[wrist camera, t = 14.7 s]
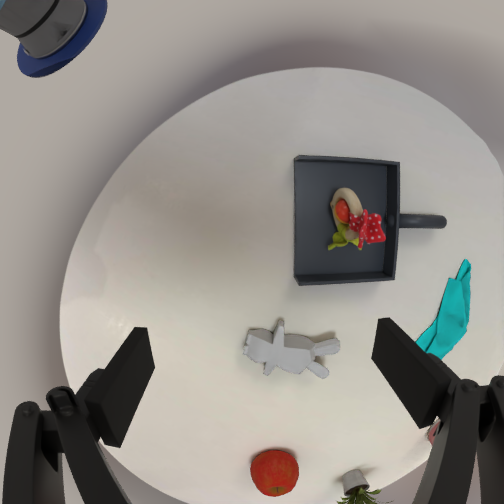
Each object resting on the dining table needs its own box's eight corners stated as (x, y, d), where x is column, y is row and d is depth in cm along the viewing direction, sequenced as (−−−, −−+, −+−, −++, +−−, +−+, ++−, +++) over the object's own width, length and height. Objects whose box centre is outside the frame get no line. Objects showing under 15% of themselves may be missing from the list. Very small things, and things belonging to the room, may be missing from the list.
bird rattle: (311, 209, 44) (331, 264, 42) (321, 179, 33) (348, 251, 31) (347, 198, 44) (368, 252, 42) (366, 167, 33) (395, 235, 31)
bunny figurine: (251, 322, 41) (347, 344, 41) (254, 309, 46) (340, 329, 46) (237, 372, 43) (325, 391, 43) (241, 357, 48) (322, 374, 48)
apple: (288, 471, 55) (293, 503, 45) (245, 468, 55) (245, 502, 44) (302, 447, 53) (310, 482, 43) (255, 444, 52) (257, 481, 42)
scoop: (294, 277, 44) (298, 285, 40) (293, 158, 41) (299, 155, 37) (433, 269, 45) (445, 275, 41) (438, 170, 41) (452, 169, 37)
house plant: (372, 451, 55) (392, 496, 39) (383, 468, 58) (401, 508, 42) (322, 474, 56) (334, 521, 41) (339, 489, 59) (351, 530, 43)
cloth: (431, 381, 51) (435, 386, 49) (393, 368, 49) (398, 374, 47) (490, 281, 46) (497, 284, 44) (460, 254, 45) (467, 256, 42)
